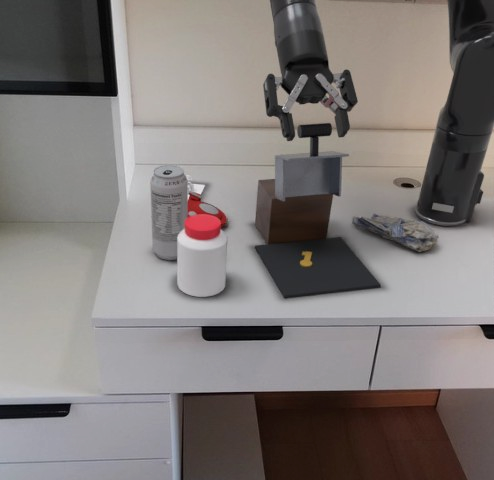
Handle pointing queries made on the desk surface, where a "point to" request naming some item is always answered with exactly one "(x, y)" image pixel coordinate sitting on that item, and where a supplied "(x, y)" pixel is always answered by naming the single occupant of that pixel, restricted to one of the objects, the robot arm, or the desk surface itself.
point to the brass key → (306, 259)
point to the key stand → (291, 215)
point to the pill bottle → (201, 256)
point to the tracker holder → (203, 208)
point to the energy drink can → (168, 209)
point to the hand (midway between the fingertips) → (317, 137)
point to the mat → (315, 267)
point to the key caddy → (309, 167)
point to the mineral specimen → (400, 231)
